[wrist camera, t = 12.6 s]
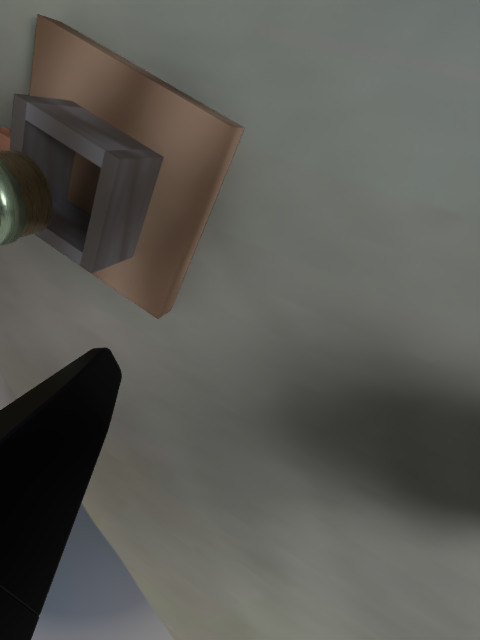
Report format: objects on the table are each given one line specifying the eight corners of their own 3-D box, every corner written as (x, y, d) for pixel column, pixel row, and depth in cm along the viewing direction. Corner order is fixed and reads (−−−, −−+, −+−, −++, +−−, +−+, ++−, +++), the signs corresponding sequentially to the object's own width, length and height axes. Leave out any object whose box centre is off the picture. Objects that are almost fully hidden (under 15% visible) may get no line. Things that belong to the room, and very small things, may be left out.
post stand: (244, 128, 19) (194, 123, 15) (170, 310, 25) (121, 343, 21) (60, 22, 21) (-31, -9, 16) (35, 218, 27) (-36, 231, 23)
